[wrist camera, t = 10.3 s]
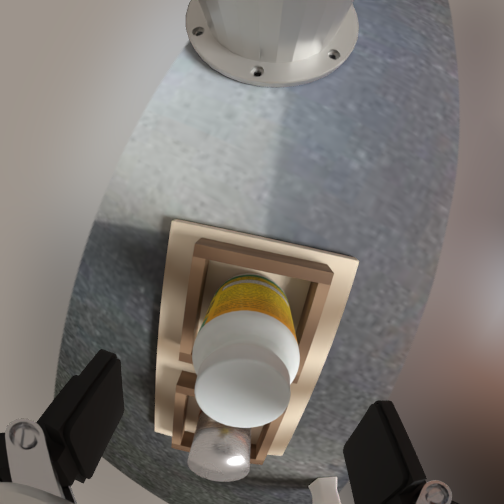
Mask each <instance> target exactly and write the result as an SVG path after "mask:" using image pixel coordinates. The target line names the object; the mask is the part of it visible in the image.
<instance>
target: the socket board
mask: <svg viewBox="0 0 504 504" xmlns="http://www.w3.org/2000/svg"><path fill="white" fill-rule="evenodd" d="M358 264H359V261H358V260H357V259H356V258H355V257H350V256H346V255H342V254H337V253H333V252H328V251H324V250H319V249H315V248H310V247H306V246H302V245H297V244H292V243H288V242H283V241H279V240H274V239H270V238H265V237H260V236H256V235H251V234H246V233H242V232H237V231H232V230H227V229H223V228H218V227H213V226H208V225H203V224H199V223H194V222H189V221H184V220H179V219H175V220H172V223H171V229H170V236H169V242H168V249H167V257H166V264H165V272H164V281H163V290H162V299H161V309H160V320H159V333H158V347H157V363H156V386H155V432H159V433H162V434H165V435H169V436H172V448H175V449H179V450H183V451H187V452H190V449H191V445H192V442H193V438H194V434H195V430H196V426H197V422H198V416H199V412H200V407H199V405H198V403H197V401H196V398H195V383H196V379H197V374H196V372H195V369H194V366H193V361H192V351H193V346H194V342H195V339H196V336H197V334H198V332H199V329H200V327H201V325H202V323H203V320H204V318H205V316H206V313H207V311H208V308H209V306H210V304H211V301H212V299H213V297H214V295H215V293H216V291H217V290H218V288H219V287H220V286H221V285H222V284H223V283H224V282H225V281H227V280H228V279H230V278H232V277H233V276H236V275H239V274H245V273H254V274H260V275H263V276H266V277H268V278H270V279H271V280H273V281H274V282H275V283H277V284H278V285H279V286H280V288H281V289H282V290H283V291H284V293H285V295H286V297H287V299H288V302H289V306H290V311H291V316H292V320H293V325H294V329H295V334H296V338H297V342H298V347H299V353H300V362H299V368H298V372H297V374H296V376H295V378H294V380H293V381H292V383H291V384H290V391H291V396H290V401H289V404H288V406H287V408H286V410H285V411H284V412H283V413H282V414H281V415H280V416H279V417H278V418H277V419H275V420H273V421H272V422H270V423H267V424H265V425H262V426H258V427H252V429H251V447H250V463H252V464H260V465H262V464H263V462H264V460H265V458H266V455H267V454H268V455H278V456H282V455H283V453H284V451H285V449H286V447H287V445H288V443H289V441H290V439H291V437H292V435H293V433H294V431H295V429H296V427H297V425H298V422H299V420H300V418H301V416H302V414H303V412H304V410H305V407H306V405H307V403H308V401H309V398H310V396H311V394H312V392H313V389H314V387H315V385H316V382H317V380H318V377H319V375H320V373H321V370H322V368H323V365H324V363H325V360H326V358H327V355H328V352H329V350H330V347H331V345H332V342H333V339H334V337H335V334H336V331H337V328H338V325H339V323H340V320H341V317H342V314H343V311H344V308H345V305H346V302H347V299H348V296H349V293H350V290H351V287H352V284H353V280H354V277H355V274H356V271H357V267H358Z"/></svg>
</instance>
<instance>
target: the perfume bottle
mask: <svg viewBox="0 0 504 504" xmlns="http://www.w3.org/2000/svg"><path fill="white" fill-rule="evenodd" d="M308 487H309V489H310V491H311V493H312V499H313V504H341V503H340V498H339V495H338V491H337V477H323V478H317V479H316V480H315V481H314V482H312V483H311V484H310V485H309V486H308Z"/></svg>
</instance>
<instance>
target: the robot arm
mask: <svg viewBox="0 0 504 504" xmlns="http://www.w3.org/2000/svg"><path fill="white" fill-rule="evenodd" d="M353 1H354V0H191V1H190V3H189V5H188V9H187V13H186V30H187V33H188V37H189V40H190V42H191V43H192V45H193V47H194V49H195V50H196V52H197V53H198V54H199V56H200V57H201V58H202V60H204V61H205V62H206V63H207V64H208V65H209V66H210V67H212V68H213V69H214V70H216V71H218V72H220V73H221V74H223V75H225V76H226V77H229V78H232V79H234V80H237V81H239V82H242V83H247V84H251V85H256V86H263V87H277V88H278V87H291V86H298V85H302V84H307V83H311V82H313V81H316V80H318V79H321V78H323V77H326V76H327V75H329V74H330V73H332V72H333V71H335V70H336V69H338V68H339V67H340V65H341V64H342V63H343V62H344V61H345V60H346V59H347V58H348V56H349V55H350V53H351V52H352V51H353V49H354V46H355V44H356V41H357V39H358V31H359V24H358V17H357V14H356V11H355V9H354V6H353V4H352V3H353ZM201 34H202V35H201ZM198 35H200V36H198ZM330 57H333V58H334V59H335V60H333V59H331V58H330ZM255 73H260V74H261V76H260V77H255V76H254V74H255ZM123 413H124V400H123V389H122V376H121V362H120V360H119V359H117V356H116V354H114V353H111V352H108V351H105V350H103V349H101V350H99V351H98V353H97V354H96V355H95V356H94V358H93V359H92V360H91V361H90V363H89V364H88V365H87V366H86V368H85V369H84V370H83V371H82V373H81V374H80V375H79V376H78V375H75V376H73V377H72V378H71V379H70V380H69V381H68V383H67V384H66V385H65V386H64V388H63V389H62V390H61V391H60V393H59V394H58V395H57V396H56V398H55V399H54V400H53V402H52V403H51V404H50V405H49V407H48V408H47V409H46V411H45V412H44V413H43V415H42V416H41V417H40V418H39V420H38V421H37V422H34V421H32V420H29V419H24V418H21V419H16V420H14V421H12V422H11V423H10V424H9V425H8V426H7V428H6V431H5V433H0V504H77V502H76V500H75V497H74V494H73V492H72V489H71V485H72V484H73V482H74V480H77V481H79V482H81V483H84V481H85V479H86V478H88V479H90V478H91V477H92V475H93V473H94V471H95V469H96V467H97V465H98V463H99V461H100V459H101V457H102V455H103V453H104V451H105V449H106V447H107V445H108V443H109V441H110V439H111V437H112V435H113V433H114V431H115V429H116V427H117V425H118V423H119V421H120V419H121V417H122V415H123ZM343 453H344V458H345V462H346V466H347V471H348V475H349V480H350V484H351V489H352V493H353V498H354V502H355V504H458V503H456V502H454V501H452V500H451V499H452V493H451V490H450V488H449V487H448V486H447V485H446V484H445V483H443V482H441V481H437V480H434V481H430V482H428V483H426V481H425V479H426V476H425V474H424V471H423V469H422V466H421V464H420V462H419V459H418V457H417V455H416V452H415V450H414V448H413V446H412V444H411V441H410V439H409V437H408V435H407V432H406V430H405V428H404V426H403V424H402V422H401V419H400V417H399V415H398V413H397V411H396V409H395V407H394V405H393V403H392V402H391V401H376V402H375V403H374V404H372V405H371V406H370V407H369V409H368V410H367V412H366V414H365V415H364V417H363V418H362V420H361V421H360V423H359V424H358V426H357V428H356V429H355V431H354V432H353V433H352V435H351V436H350V438H349V439H348V441H347V442H346V444H345V445H344V449H343Z"/></svg>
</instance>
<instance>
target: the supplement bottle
mask: <svg viewBox="0 0 504 504" xmlns="http://www.w3.org/2000/svg"><path fill="white" fill-rule="evenodd" d="M192 361H193V366H194V369H195V372H196V374H197V379H196V383H195V398H196V401H197V403H198V405H199V407H200V408H201V409H202V411H203V412H204V413H205V414H207V415H208V416H209V417H210V418H212V419H213V420H215V421H217V422H219V423H222V424H224V425H227V426H232V427H239V428H251V427H258V426H262V425H265V424H267V423H270V422H272V421H273V420H275V419H277V418H278V417H279V416H280V415H281V414H282V413H283V412H284V411H285V410H286V408H287V406H288V404H289V401H290V396H291V391H290V384H291V383H292V381H293V380H294V378H295V376H296V374H297V372H298V368H299V362H300V353H299V347H298V342H297V338H296V334H295V329H294V325H293V320H292V316H291V311H290V306H289V302H288V299H287V297H286V295H285V293H284V291H283V290H282V289H281V288H280V286H279V285H278V284H277V283H275V282H274V281H273V280H271V279H270V278H268V277H266V276H263V275H260V274H254V273H245V274H239V275H236V276H233V277H232V278H230V279H228V280H227V281H225V282H224V283H223V284H222V285H221V286H220V287H219V288H218V290H217V291H216V293H215V295H214V297H213V299H212V301H211V304H210V306H209V308H208V311H207V313H206V316H205V318H204V320H203V323H202V325H201V327H200V329H199V332H198V334H197V336H196V339H195V342H194V346H193V351H192Z"/></svg>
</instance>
